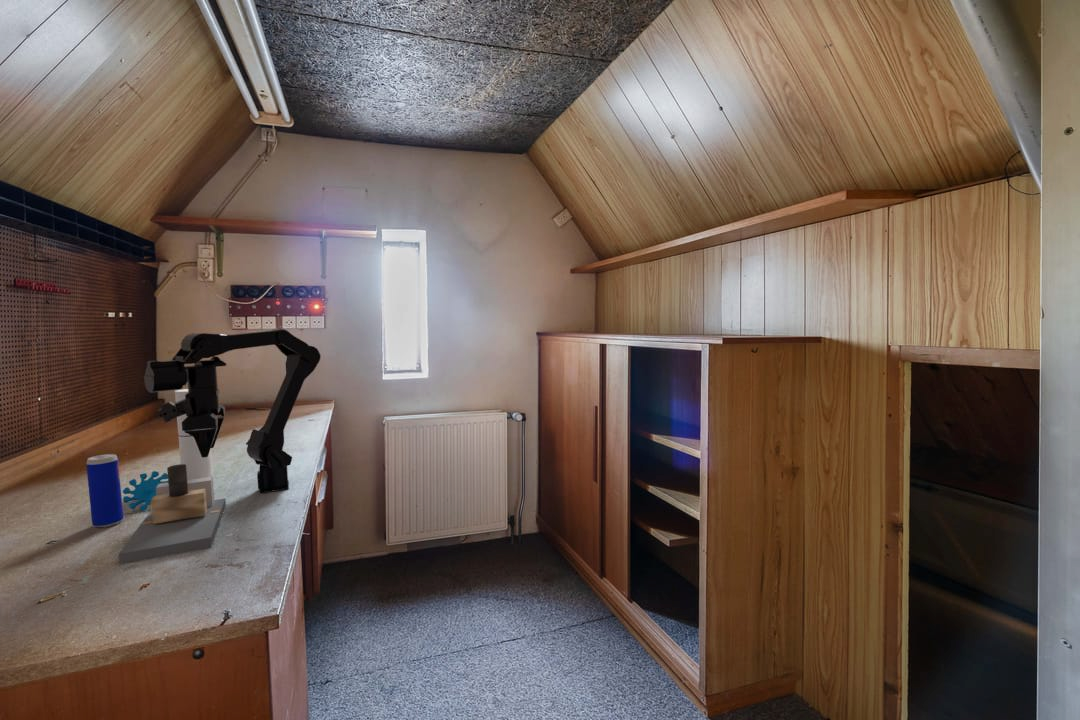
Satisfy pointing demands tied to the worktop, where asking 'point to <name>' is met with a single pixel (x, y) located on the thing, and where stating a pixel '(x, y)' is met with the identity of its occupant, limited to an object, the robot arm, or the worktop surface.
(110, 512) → the beverage can
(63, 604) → the worktop surface
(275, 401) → the robot arm
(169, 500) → the lever handle
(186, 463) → the tall white block
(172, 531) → the cracker base
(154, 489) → the blue virus model
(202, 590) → the worktop surface
